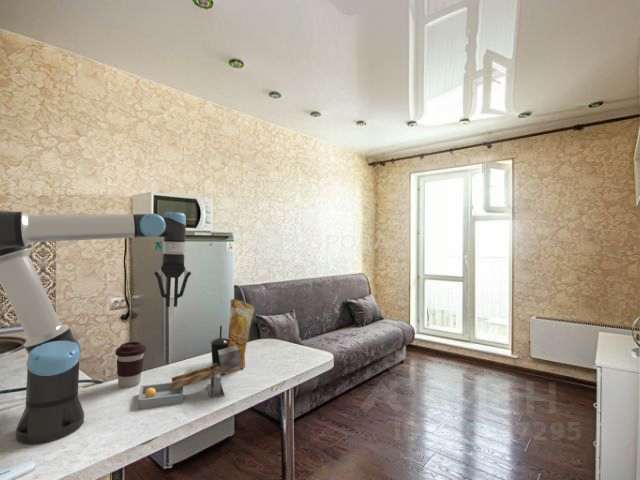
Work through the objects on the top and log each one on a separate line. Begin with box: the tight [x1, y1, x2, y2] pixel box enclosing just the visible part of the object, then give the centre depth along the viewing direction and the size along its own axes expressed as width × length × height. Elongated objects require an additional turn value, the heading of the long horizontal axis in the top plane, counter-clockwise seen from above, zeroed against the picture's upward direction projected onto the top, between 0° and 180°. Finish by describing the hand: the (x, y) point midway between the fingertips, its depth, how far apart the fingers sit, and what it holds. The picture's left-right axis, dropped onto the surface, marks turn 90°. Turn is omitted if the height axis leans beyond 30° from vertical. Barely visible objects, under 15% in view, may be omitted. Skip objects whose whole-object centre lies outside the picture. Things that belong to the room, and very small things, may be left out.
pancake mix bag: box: [227, 298, 256, 370], centre depth 150 cm, size 7×19×28 cm, turn 40°
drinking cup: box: [210, 325, 230, 377], centre depth 137 cm, size 8×8×20 cm
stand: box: [206, 362, 225, 399], centre depth 122 cm, size 5×10×9 cm, turn 24°
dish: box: [136, 381, 184, 410], centre depth 115 cm, size 14×12×3 cm
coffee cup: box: [115, 341, 147, 388], centre depth 125 cm, size 10×10×15 cm
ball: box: [145, 388, 156, 398], centre depth 113 cm, size 3×3×3 cm
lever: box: [171, 345, 242, 390], centre depth 123 cm, size 24×11×7 cm, turn 113°
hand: (171, 315), depth 125 cm, fingers closed
